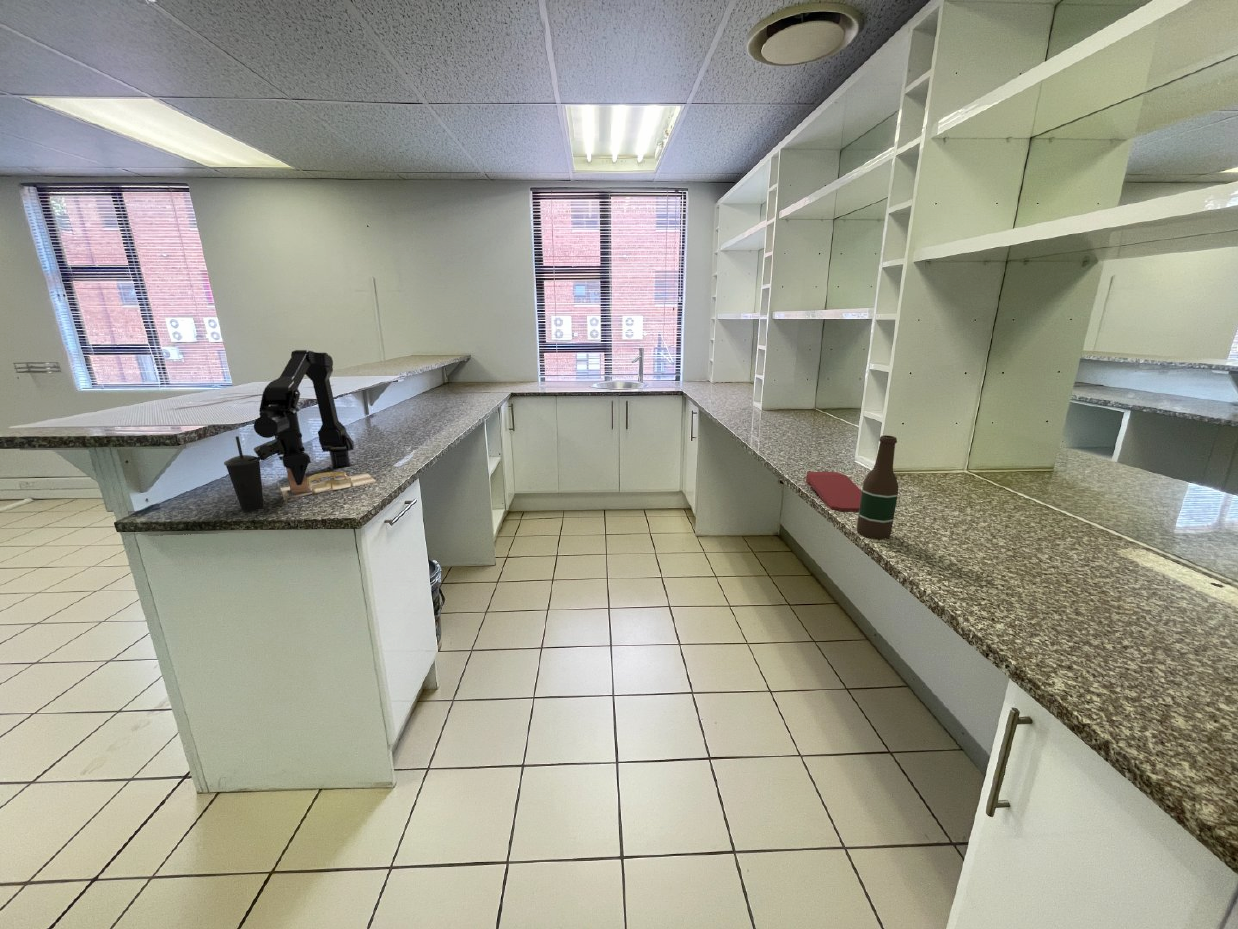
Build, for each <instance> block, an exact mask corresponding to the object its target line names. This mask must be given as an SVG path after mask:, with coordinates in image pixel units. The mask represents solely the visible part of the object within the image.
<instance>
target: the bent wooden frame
mask: <svg viewBox="0 0 1238 929" xmlns="http://www.w3.org/2000/svg"><path fill="white" fill-rule="evenodd" d="M331 476H332V479H336V477H337V476H338V477H344V479H342V480H330V479H328V480H329V481H327V482H325V483H319V484H313V485H312V487H313V489H312V493H313V494H312V495H314V493H315V489H317V488H323V487H327V486H329V485H330V486H331V488H333V484H335V485H340V484H346V483H350V485H351V487H350V488H353V487H354V486H353V482H352V481H351V478H348V479H347V477H348V475H347V472H346V471H341V470H340V471H336V470H333V471H326V472H322V473H321V472H320V473H316V474H312V475H310V476H309V477H306V480H307V485H308V486H310V483H311V482H313V481H315V480H316V481H315V482H319V481H320V479H321V478H327V477H331ZM352 486H353V487H352ZM315 494H316V493H315Z"/></svg>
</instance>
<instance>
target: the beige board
mask: <svg viewBox="0 0 1238 929" xmlns="http://www.w3.org/2000/svg"><path fill="white" fill-rule="evenodd" d="M348 478H351V481H352V482H353V486H352V487H351V485H350V483H346V484H340V485H335V484H333V488H331V486H330V485H329V486H327V487H323V488H317V489H315V493H314V494H319V493H326V492H331V491H336V490H341V489H347V488H353V487H358V486H364V485H369V484H374V483H378V481H377V480H375V478H373V477H372V475H370V474H369V473H368V472H367V473H361V474H355V475H347V479H348ZM342 479H344V476H341V477H337V478H336V477H335V479H333V478H332V479H327V480H325V479H324V480H319V482H317V481H314V482H313V481H312V482H310V486H308V491H305V492H300V493H294V494H292V492H291V490H290V485H289V486H285V487H284V486H283V487H280V489H279V490H280V492H282V493H281V494H282V497H283V499H284V501H285V503H287V502H289V499H291V498H298V497H303V496H308V495H314V494H313V493H312V489H313V487H312V485H313V484H319V483H325V482H327V481H329V480H342Z"/></svg>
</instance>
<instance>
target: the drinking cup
mask: <svg viewBox="0 0 1238 929" xmlns="http://www.w3.org/2000/svg"><path fill="white" fill-rule="evenodd" d="M235 441H236V445H237V450H238V454H239V455H237V456H233V457H231V458H229V459H228V460H226V461H224V462H223V465H224V466H226V470H227V473H228V475H229V476H228V477H229V478H230V481H231V484H232V487H233V490H234V492H235V495H236V497H237V500H238V503H239V506H240V509H241V511H242V512H243V513H244V512H245V513H249V512H257V511H259V509H260V510H261V509H263V508H265V502H264V494H263V493H264V492H263V484H262V483H263V482H262V474H261V462H260V461H261V460H260V458H259V457H258V456H255V455H249V454H243V450H242V446H241V441H240V437H239V436H235Z"/></svg>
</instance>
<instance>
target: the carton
mask: <svg viewBox="0 0 1238 929" xmlns="http://www.w3.org/2000/svg"><path fill="white" fill-rule="evenodd" d="M805 476H806V478H805V483H806V484H807V485H810V486H811V487H812V488H813V490H814V491H815V492H816V493H817V495H818V496H819V497H820V498H821V499H822V501H823V502H824V503H825V505H826V506H827V508H829V509H830V510H834V511H839V512H859V508H860V501H861V495H862V490H861V489H860V488H859V487H858V486H857V485H856V484H855V482H853V481H852V479H850V477H849V476H847V474H844V473H840V472H837V471H807V472H806V475H805Z"/></svg>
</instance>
